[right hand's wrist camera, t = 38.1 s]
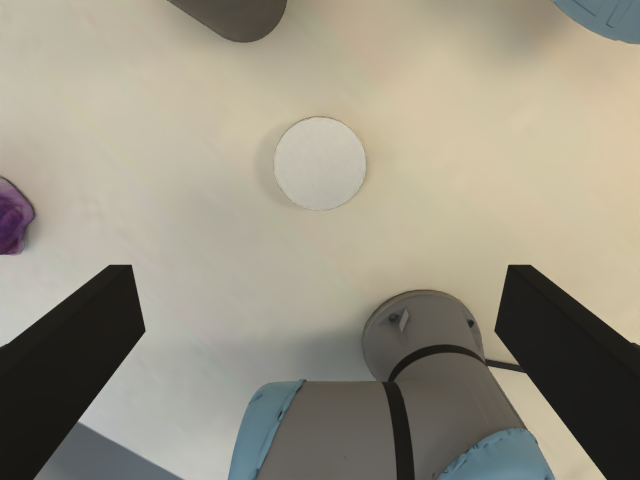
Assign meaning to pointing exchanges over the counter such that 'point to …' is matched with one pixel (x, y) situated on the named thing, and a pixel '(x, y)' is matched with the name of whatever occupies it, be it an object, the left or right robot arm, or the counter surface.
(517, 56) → the counter surface
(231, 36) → the jar
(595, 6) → the left robot arm
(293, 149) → the lid
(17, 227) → the figurine
